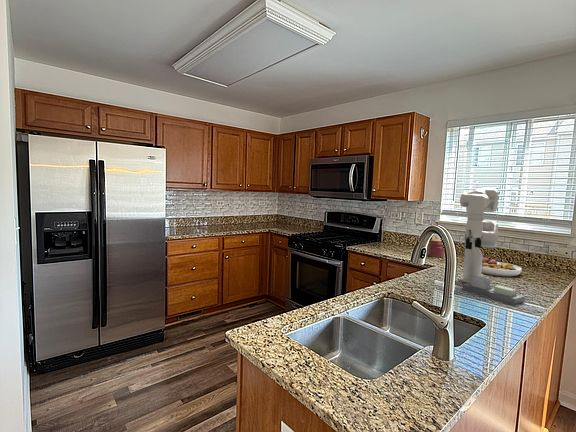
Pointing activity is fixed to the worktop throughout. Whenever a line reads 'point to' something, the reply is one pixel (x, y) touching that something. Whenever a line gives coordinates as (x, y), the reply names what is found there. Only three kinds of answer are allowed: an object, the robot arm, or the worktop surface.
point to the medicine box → (480, 282)
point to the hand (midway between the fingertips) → (473, 248)
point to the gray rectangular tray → (494, 294)
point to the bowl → (499, 268)
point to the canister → (435, 248)
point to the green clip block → (505, 291)
